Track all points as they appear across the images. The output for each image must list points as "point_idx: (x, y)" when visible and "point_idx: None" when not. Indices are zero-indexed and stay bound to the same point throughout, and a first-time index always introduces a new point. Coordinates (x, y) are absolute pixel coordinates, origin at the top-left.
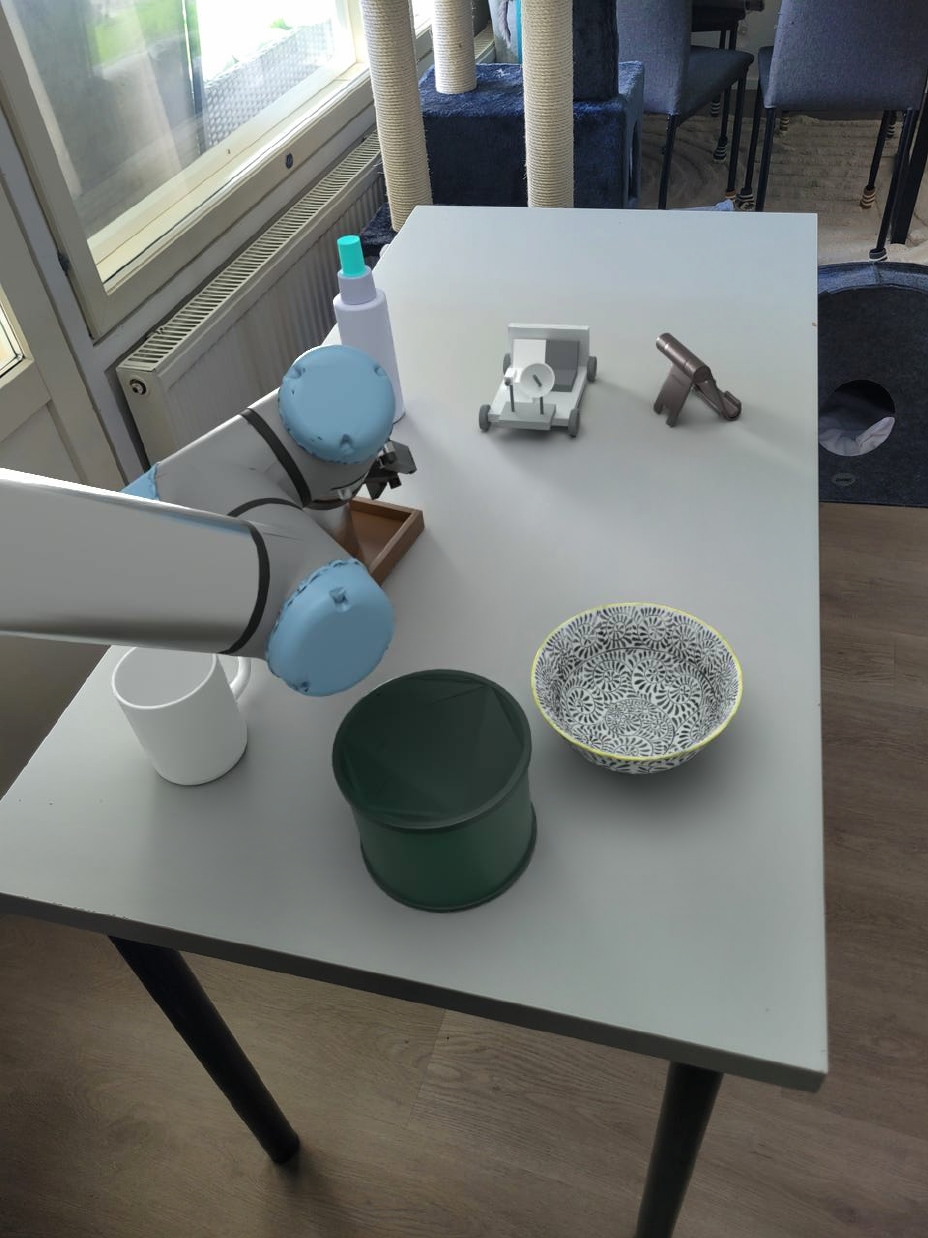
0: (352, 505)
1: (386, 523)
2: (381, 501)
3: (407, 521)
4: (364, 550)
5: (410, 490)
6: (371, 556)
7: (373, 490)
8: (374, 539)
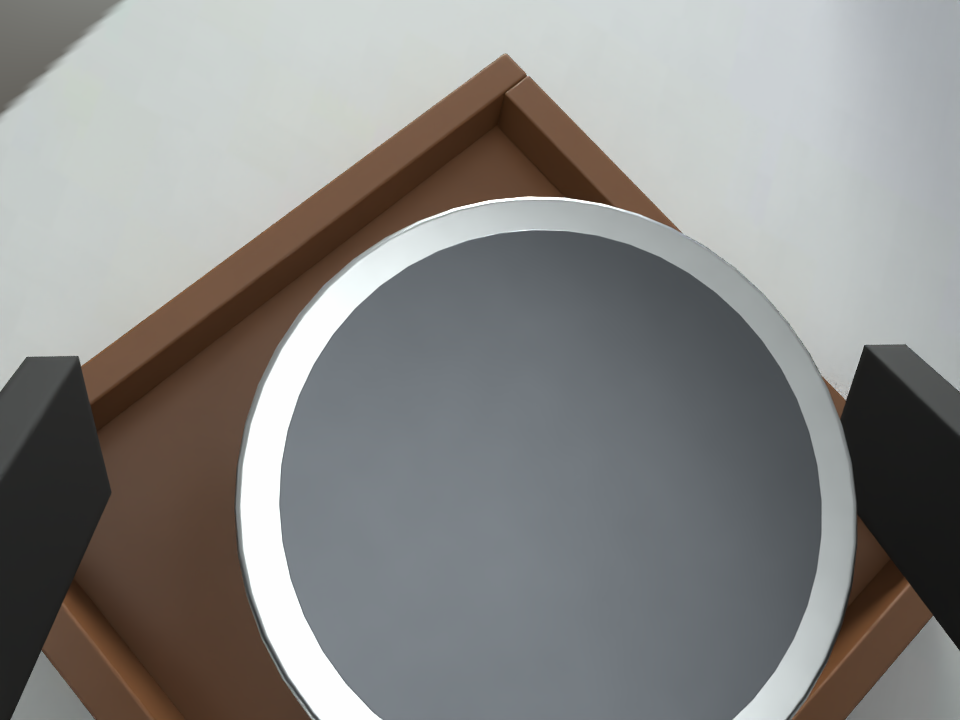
0: None
1: None
2: (824, 380)
3: (909, 599)
4: None
5: (915, 275)
6: None
7: (914, 554)
8: None
